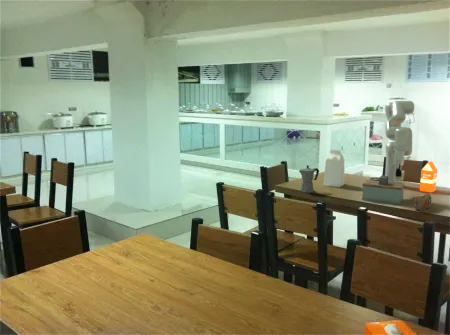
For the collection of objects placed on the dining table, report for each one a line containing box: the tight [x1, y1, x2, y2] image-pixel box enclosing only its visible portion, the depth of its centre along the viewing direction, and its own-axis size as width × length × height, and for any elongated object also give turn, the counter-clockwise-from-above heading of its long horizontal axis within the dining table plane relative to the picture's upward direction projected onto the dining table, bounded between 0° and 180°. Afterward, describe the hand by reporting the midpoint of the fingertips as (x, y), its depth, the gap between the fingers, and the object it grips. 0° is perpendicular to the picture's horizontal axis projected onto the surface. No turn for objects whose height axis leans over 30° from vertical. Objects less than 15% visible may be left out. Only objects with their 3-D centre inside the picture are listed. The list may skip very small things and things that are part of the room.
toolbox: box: [361, 181, 405, 205], centre depth 266 cm, size 18×22×10 cm
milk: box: [323, 148, 345, 188], centre depth 304 cm, size 12×12×26 cm
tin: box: [413, 193, 432, 211], centre depth 244 cm, size 15×3×8 cm, turn 126°
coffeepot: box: [298, 165, 320, 194], centre depth 287 cm, size 15×9×18 cm, turn 107°
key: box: [395, 170, 405, 182], centre depth 272 cm, size 8×4×6 cm, turn 149°
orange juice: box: [419, 161, 438, 193], centre depth 286 cm, size 8×9×20 cm
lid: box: [361, 174, 405, 190], centre depth 263 cm, size 14×23×6 cm, turn 59°
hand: (398, 176), depth 267 cm, fingers closed
